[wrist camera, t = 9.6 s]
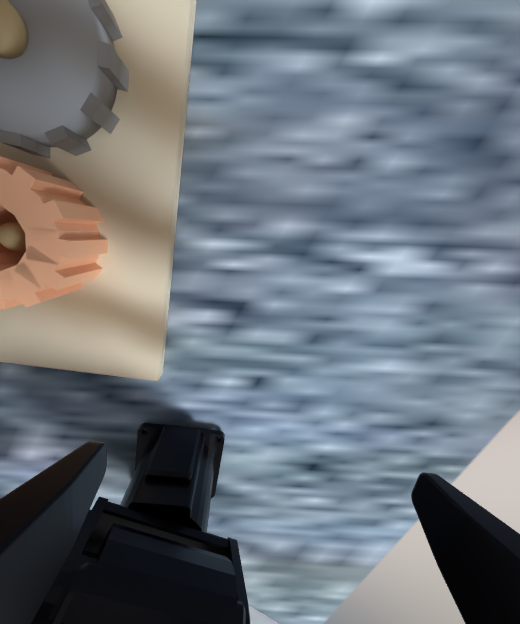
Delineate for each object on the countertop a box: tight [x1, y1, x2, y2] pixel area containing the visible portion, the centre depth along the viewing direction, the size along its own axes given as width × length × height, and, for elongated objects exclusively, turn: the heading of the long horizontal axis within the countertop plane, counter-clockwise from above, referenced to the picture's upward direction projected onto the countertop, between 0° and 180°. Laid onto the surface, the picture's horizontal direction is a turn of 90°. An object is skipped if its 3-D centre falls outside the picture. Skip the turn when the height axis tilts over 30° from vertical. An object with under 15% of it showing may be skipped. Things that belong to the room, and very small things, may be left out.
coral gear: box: [0, 156, 108, 310], centre depth 14 cm, size 7×7×4 cm
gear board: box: [0, 0, 196, 381], centre depth 14 cm, size 22×14×5 cm, turn 170°
